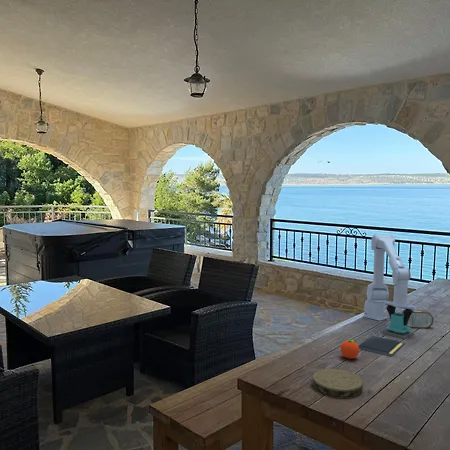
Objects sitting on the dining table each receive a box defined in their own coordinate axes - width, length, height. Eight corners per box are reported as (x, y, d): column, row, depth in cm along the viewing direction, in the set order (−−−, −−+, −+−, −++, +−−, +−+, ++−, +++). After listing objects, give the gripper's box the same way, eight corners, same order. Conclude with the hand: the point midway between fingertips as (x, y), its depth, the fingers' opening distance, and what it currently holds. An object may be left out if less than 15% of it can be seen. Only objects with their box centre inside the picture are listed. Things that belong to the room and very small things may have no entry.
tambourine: (332, 402, 129) (333, 393, 129) (303, 381, 144) (303, 372, 143) (373, 393, 135) (373, 384, 135) (340, 374, 150) (341, 365, 150)
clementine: (347, 352, 170) (348, 335, 169) (363, 357, 165) (364, 339, 164) (336, 357, 164) (337, 339, 164) (353, 363, 159) (354, 344, 159)
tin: (431, 327, 206) (432, 310, 206) (433, 329, 203) (434, 312, 202) (399, 325, 208) (400, 308, 207) (401, 327, 204) (402, 310, 204)
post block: (382, 333, 195) (383, 323, 194) (392, 329, 202) (393, 318, 201) (404, 339, 187) (405, 328, 187) (413, 334, 194) (414, 323, 194)
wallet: (372, 333, 191) (407, 341, 181) (371, 337, 191) (407, 345, 181) (354, 344, 176) (391, 354, 166) (353, 349, 176) (391, 358, 166)
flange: (386, 329, 194) (386, 314, 194) (393, 325, 200) (394, 311, 199) (403, 333, 189) (404, 318, 188) (411, 329, 194) (411, 315, 194)
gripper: (381, 292, 196) (379, 321, 197) (412, 298, 185) (411, 329, 186) (387, 290, 200) (386, 318, 201) (419, 296, 190) (417, 325, 191)
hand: (398, 323), depth 194 cm, fingers open, 5 cm apart
